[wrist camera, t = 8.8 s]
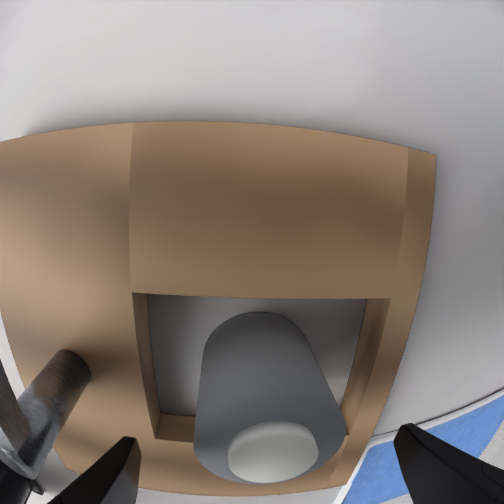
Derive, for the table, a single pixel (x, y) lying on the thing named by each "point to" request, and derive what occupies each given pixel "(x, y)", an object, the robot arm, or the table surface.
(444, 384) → the table surface
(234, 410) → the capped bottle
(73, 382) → the hook post
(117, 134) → the base board
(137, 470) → the robot arm
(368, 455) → the tablet computer
